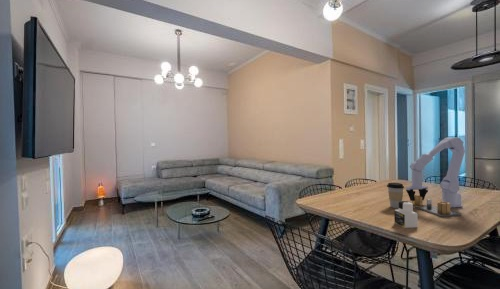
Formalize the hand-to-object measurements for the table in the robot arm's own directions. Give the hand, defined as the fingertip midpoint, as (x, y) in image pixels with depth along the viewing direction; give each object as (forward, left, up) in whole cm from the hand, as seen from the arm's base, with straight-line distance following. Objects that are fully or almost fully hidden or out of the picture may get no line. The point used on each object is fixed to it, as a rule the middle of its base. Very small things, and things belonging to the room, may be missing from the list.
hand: (416, 200), depth 153 cm
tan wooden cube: (0, 0, -3) cm, 3 cm away
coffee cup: (+18, +2, -3) cm, 18 cm away
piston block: (+2, +15, -3) cm, 15 cm away
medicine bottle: (+37, +30, -3) cm, 48 cm away
